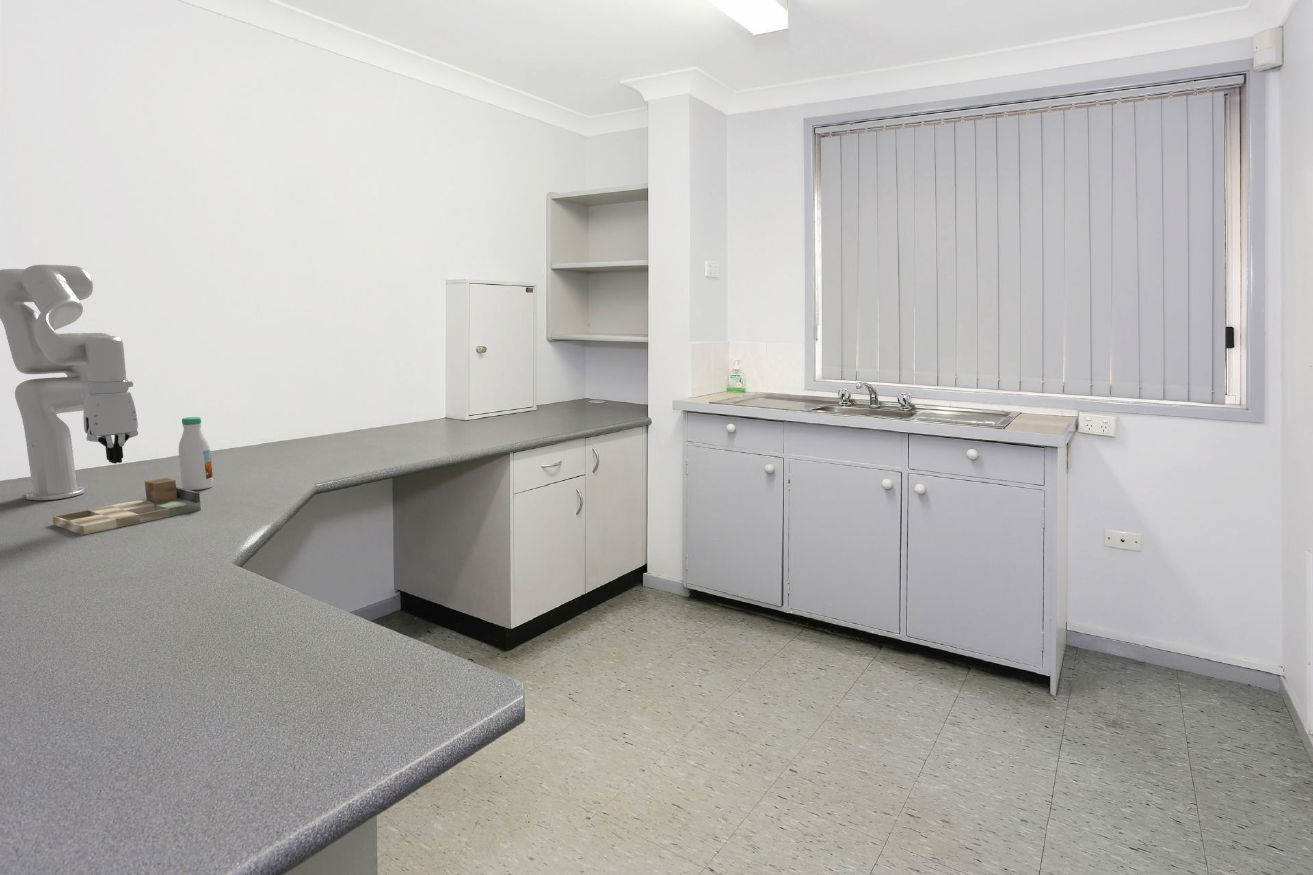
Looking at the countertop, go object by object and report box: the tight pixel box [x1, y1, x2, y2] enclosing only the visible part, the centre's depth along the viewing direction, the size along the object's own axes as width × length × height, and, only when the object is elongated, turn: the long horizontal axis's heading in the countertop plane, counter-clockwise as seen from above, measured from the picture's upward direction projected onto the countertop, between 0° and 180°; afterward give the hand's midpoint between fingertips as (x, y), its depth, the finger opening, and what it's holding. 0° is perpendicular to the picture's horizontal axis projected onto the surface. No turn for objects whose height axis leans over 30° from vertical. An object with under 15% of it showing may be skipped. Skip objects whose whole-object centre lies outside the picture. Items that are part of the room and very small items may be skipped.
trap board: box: [52, 486, 202, 536], centre depth 188 cm, size 15×26×4 cm, turn 148°
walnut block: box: [144, 477, 177, 503], centre depth 197 cm, size 5×5×5 cm
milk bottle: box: [178, 416, 214, 491], centre depth 217 cm, size 8×8×20 cm
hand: (115, 462), depth 189 cm, fingers closed
